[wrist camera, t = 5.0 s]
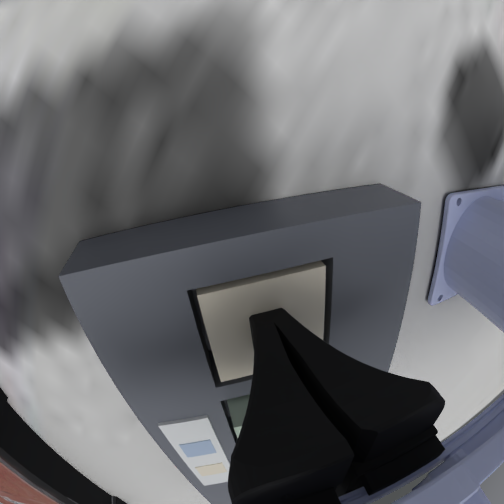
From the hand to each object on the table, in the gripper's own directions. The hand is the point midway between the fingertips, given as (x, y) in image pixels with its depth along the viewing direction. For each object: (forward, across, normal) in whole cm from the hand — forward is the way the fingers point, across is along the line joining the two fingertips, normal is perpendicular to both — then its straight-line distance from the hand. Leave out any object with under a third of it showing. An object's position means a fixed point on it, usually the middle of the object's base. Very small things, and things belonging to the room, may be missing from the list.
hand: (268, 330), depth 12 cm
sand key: (+2, 0, 0) cm, 2 cm away
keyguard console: (+3, 0, +10) cm, 10 cm away
